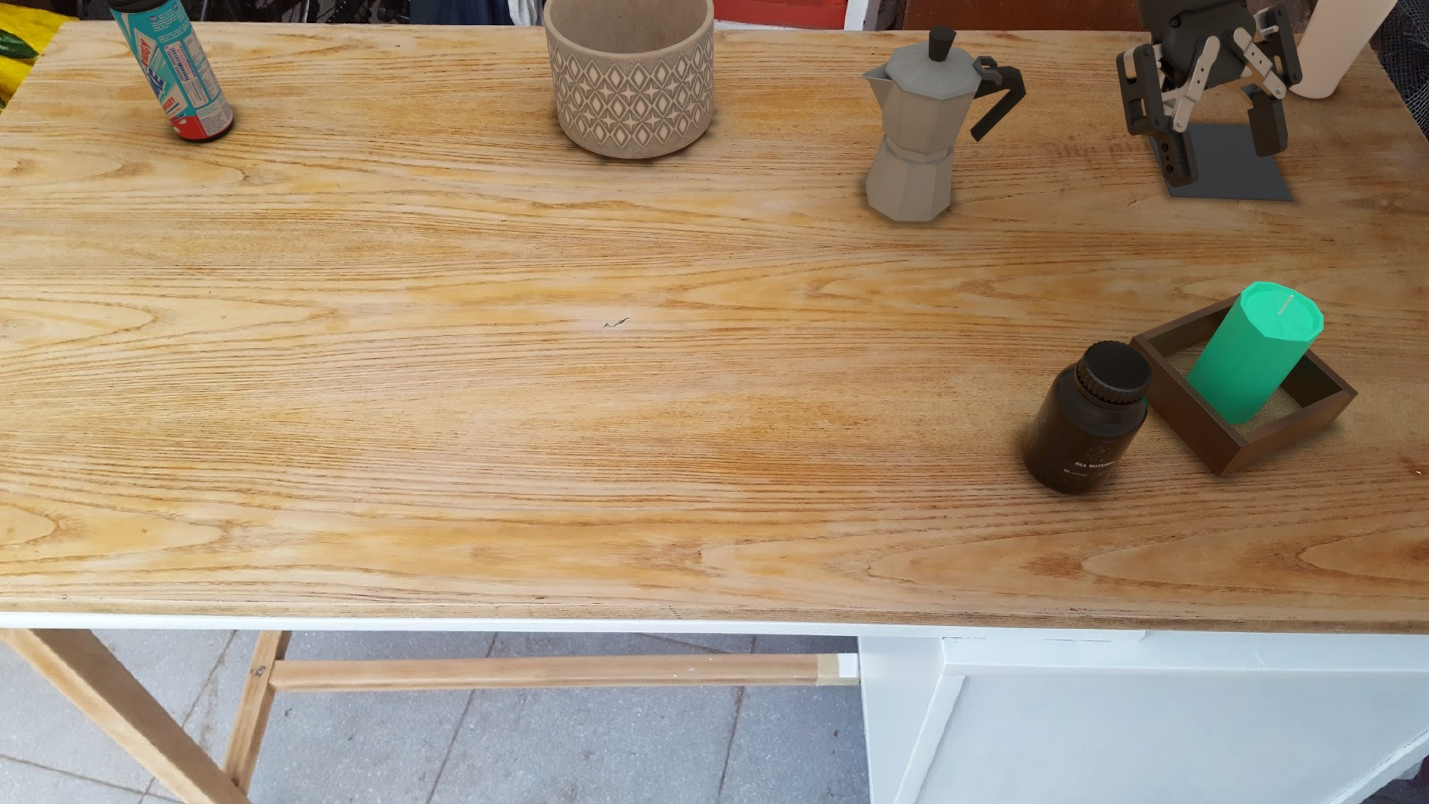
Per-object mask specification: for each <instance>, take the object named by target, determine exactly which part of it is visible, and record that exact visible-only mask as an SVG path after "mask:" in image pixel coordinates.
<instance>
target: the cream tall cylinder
mask: <svg viewBox="0 0 1429 804" xmlns="http://www.w3.org/2000/svg"><path fill="white" fill-rule="evenodd" d="M1398 1H1399V0H1317V2H1316V5H1315V7H1314V9H1313V12H1312V14H1311V16H1310V18H1309V21H1308V23H1307V25H1306V27H1305V29H1304V32H1303V34H1302V36H1301V39H1300V41H1299V43H1298V45H1297V47H1296V49H1297V53H1298V57H1299V62H1300V66H1301V70H1302V75H1303V78H1302V81H1301V82H1300V83H1299V84H1297V85H1293V86H1292V87H1290V88H1289V89H1288V90H1289V91H1291V92H1292V93H1294V94H1295V95H1298V96H1301V97H1303V98H1304V97H1305V98H1308V99H1314V100H1315V99H1325V98H1328V97H1330V96H1331V95H1332V94H1333V93H1334V92H1335V90H1336V89H1337V87H1338V86H1339V83H1340V82H1341V80H1342V79H1343V77H1344V76H1345V74H1346V73H1347V72H1348V71H1349V69H1350V67H1351V66H1352V65H1353V64H1354V62H1355V61H1356V59H1357V58H1358V57H1359V56H1360V54H1361V52H1362V51H1363V50H1364V48H1365V47H1366V46H1367V44H1368V43H1369V42H1370V40H1371V39H1372V38H1373V36H1374V35H1375V33H1376V32H1377V31H1378V29H1379V28H1380V27H1381V25H1382V24H1383V23H1384V22H1385V20H1386V19H1387V17H1388V15H1390V13H1391V11H1392V10H1393V9H1394V7H1395V5H1396V4H1397V3H1398Z"/></svg>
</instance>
